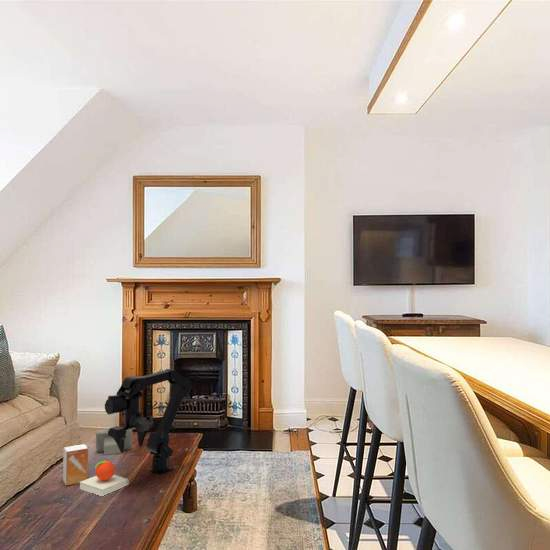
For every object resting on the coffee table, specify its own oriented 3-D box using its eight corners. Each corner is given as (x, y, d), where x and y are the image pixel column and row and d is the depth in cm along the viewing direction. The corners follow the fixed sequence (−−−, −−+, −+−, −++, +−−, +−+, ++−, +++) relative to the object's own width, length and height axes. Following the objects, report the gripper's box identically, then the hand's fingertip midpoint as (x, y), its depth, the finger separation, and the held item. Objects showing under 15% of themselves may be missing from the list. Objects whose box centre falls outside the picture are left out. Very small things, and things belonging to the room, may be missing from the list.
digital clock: (133, 448, 228) (134, 425, 228) (129, 454, 219) (129, 431, 219) (98, 449, 226) (98, 426, 227) (92, 455, 217) (93, 431, 218)
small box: (65, 486, 183) (66, 451, 184) (62, 480, 189) (63, 447, 189) (88, 481, 188) (88, 447, 188) (84, 476, 193) (84, 443, 194)
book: (105, 479, 191) (105, 471, 191) (128, 486, 184) (128, 478, 184) (79, 490, 181) (79, 482, 181) (102, 498, 174) (102, 489, 174)
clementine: (96, 485, 177) (98, 465, 177) (89, 479, 182) (90, 459, 183) (117, 481, 182) (118, 461, 183) (109, 475, 187) (111, 456, 188)
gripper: (127, 417, 178) (126, 460, 177) (164, 407, 194) (163, 446, 193) (107, 413, 184) (106, 455, 183) (144, 403, 199) (143, 441, 199)
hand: (131, 449), depth 189 cm, fingers open, 9 cm apart
